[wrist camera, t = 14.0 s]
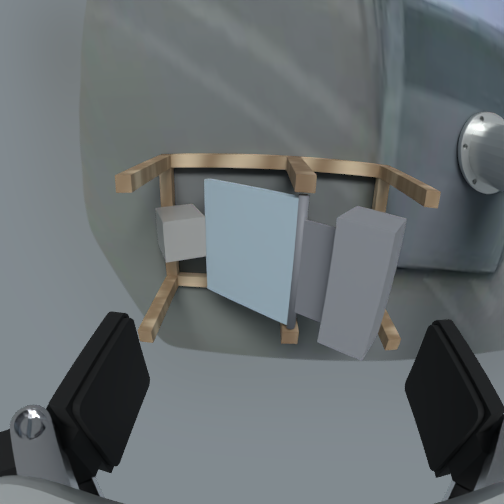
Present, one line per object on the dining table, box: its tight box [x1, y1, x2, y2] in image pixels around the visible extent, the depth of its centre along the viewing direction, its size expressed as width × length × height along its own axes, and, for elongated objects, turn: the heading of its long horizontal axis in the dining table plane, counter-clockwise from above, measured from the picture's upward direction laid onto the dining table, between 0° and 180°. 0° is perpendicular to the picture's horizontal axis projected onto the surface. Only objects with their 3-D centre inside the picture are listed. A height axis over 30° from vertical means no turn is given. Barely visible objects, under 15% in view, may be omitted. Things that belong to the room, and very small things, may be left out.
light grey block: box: [155, 204, 206, 263], centre depth 39 cm, size 5×5×6 cm
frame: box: [115, 154, 441, 350], centre depth 35 cm, size 30×19×14 cm, turn 88°
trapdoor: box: [204, 178, 407, 361], centre depth 32 cm, size 21×15×5 cm
